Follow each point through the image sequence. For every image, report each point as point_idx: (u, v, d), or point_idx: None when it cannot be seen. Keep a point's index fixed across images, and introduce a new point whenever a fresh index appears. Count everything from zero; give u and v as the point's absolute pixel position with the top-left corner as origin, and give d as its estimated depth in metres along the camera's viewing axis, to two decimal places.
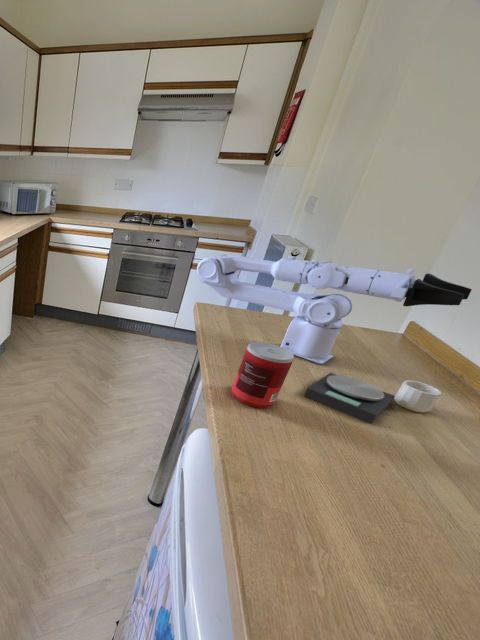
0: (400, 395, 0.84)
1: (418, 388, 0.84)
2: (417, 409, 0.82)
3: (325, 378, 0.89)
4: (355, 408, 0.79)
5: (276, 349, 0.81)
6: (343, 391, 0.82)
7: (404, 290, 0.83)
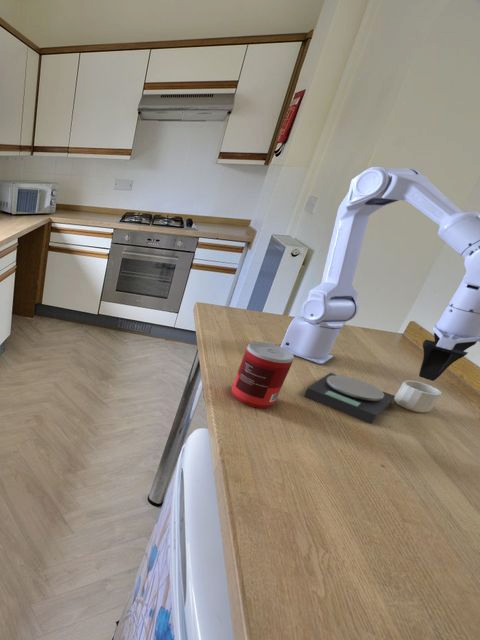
0: (400, 395, 0.84)
1: (418, 388, 0.84)
2: (417, 409, 0.82)
3: (325, 378, 0.89)
4: (355, 408, 0.79)
5: (276, 349, 0.81)
6: (343, 391, 0.82)
7: (449, 348, 0.73)
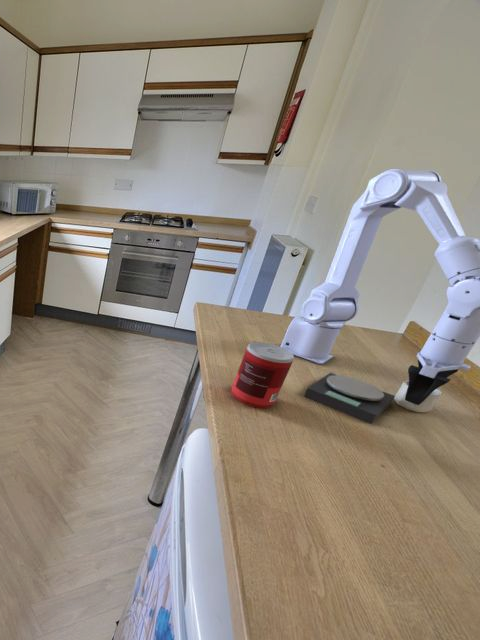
0: (400, 395, 0.84)
1: None
2: (417, 409, 0.82)
3: (325, 378, 0.89)
4: (355, 408, 0.79)
5: (276, 349, 0.81)
6: (343, 391, 0.82)
7: (431, 376, 0.76)
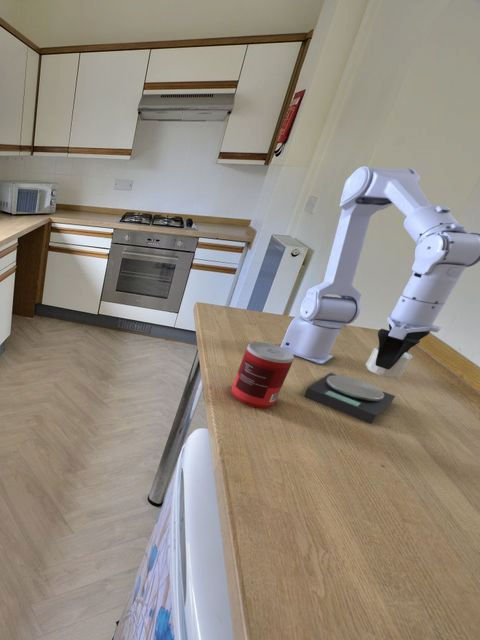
0: (371, 361, 0.82)
1: None
2: (388, 374, 0.80)
3: (325, 378, 0.89)
4: (355, 408, 0.79)
5: (276, 349, 0.81)
6: (343, 391, 0.82)
7: (400, 337, 0.74)
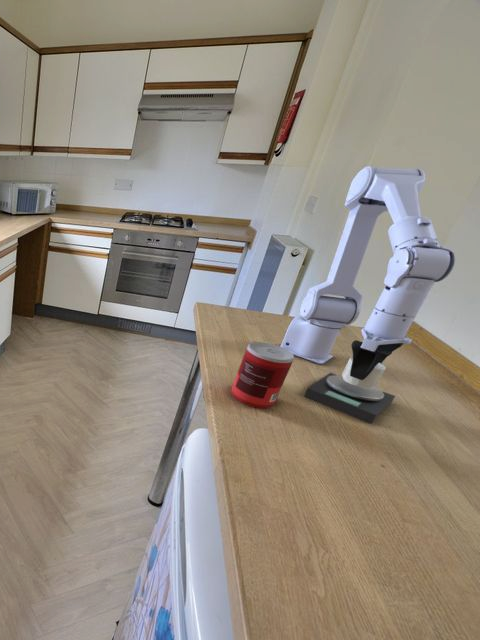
0: (346, 371, 0.83)
1: None
2: (362, 385, 0.81)
3: (325, 378, 0.89)
4: (355, 408, 0.79)
5: (276, 349, 0.81)
6: (343, 391, 0.82)
7: (372, 349, 0.75)
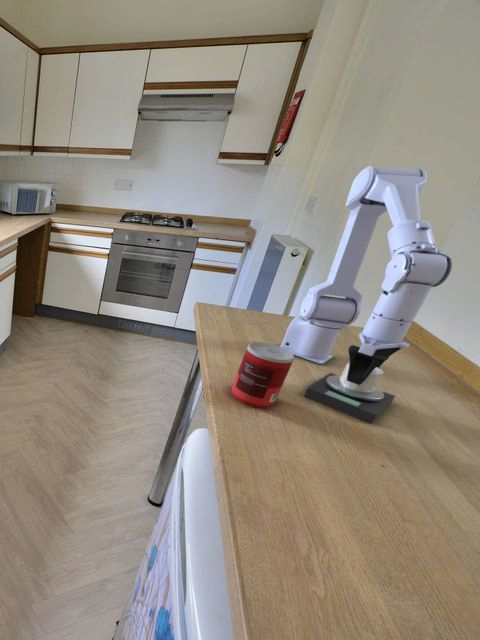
0: (344, 375, 0.84)
1: None
2: (360, 389, 0.82)
3: (325, 378, 0.89)
4: (355, 408, 0.79)
5: (276, 349, 0.81)
6: (343, 391, 0.82)
7: (369, 354, 0.76)
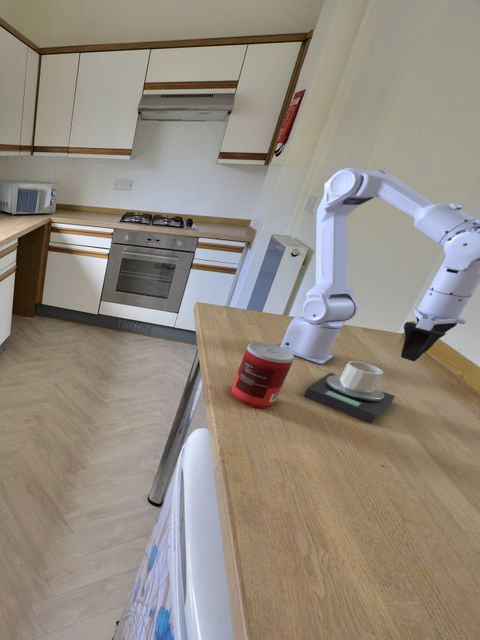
0: (344, 375, 0.84)
1: (362, 369, 0.84)
2: (360, 389, 0.82)
3: (325, 378, 0.89)
4: (355, 408, 0.79)
5: (276, 349, 0.81)
6: (343, 391, 0.82)
7: (428, 329, 0.77)
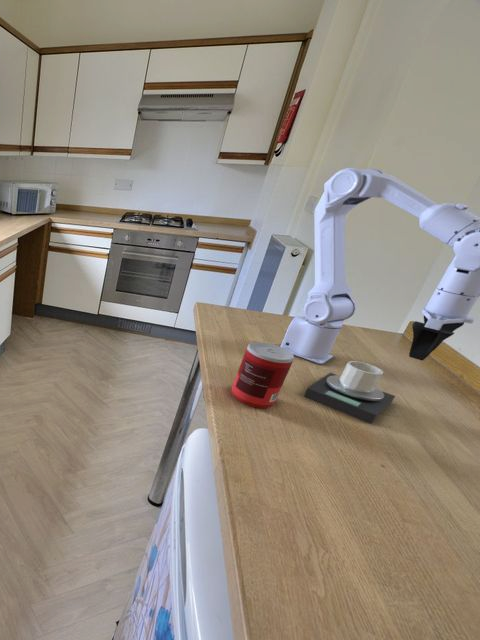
0: (344, 375, 0.84)
1: (362, 369, 0.84)
2: (360, 389, 0.82)
3: (325, 378, 0.89)
4: (355, 408, 0.79)
5: (276, 349, 0.81)
6: (343, 391, 0.82)
7: (437, 328, 0.77)
